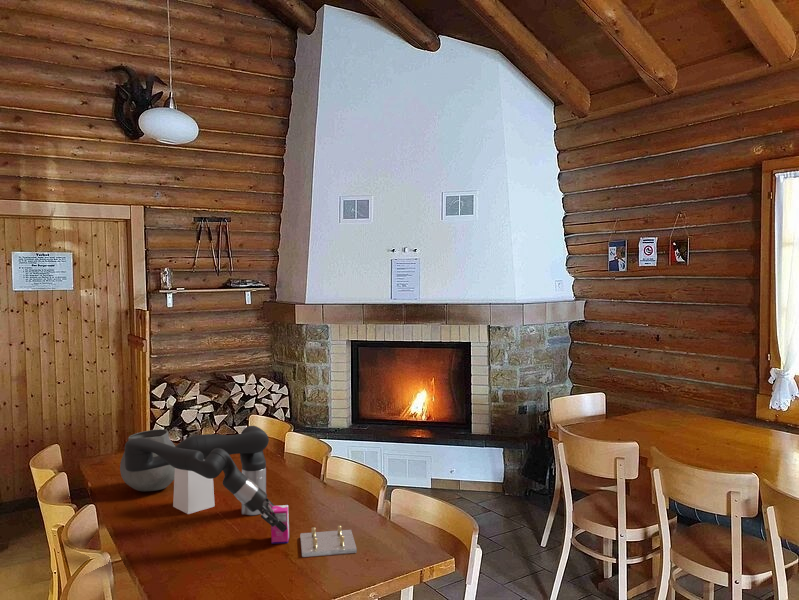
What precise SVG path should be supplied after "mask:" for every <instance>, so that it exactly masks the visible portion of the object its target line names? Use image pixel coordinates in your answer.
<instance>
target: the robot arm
mask: <svg viewBox="0 0 799 600" xmlns="http://www.w3.org/2000/svg"><path fill="white" fill-rule="evenodd" d="M269 441H270V440H269V436H268V434H267V433H266V431H264V430H263V429H261V428H260V427H258V426H256V425H249V426H246V427H245V428H243V430H242V431H241V433H239V434H238V433H237V434H228V435H227V434H216V433H215V434H214V433H213V434H211V433H210V434H209V433H206V434H199V435H191V436H188V437H186V438H184V439H182V440H181V441H180V442H179V443H177V445H175V447H173V446H170V445H167V444H164V443H161V442H157V441H154V440H151V439H146V438H135V439H131V440H127V441H126V442H125V444H124V452H125V468H126V470H127V471H130V472H138V471H145V470H149V469H154V468H158V467H162V466H167V465H171V466H172V467H174V468H177V469H181V470H188V471H193V472H195V473H197V474H199V475H201V476H203V477H205V478H208V479H212V478H213V479H215V478H217V477H219V475H221V473H222V472H223V473H224V477H223V480H222V486H223V487H224V488H225V489H227V490H228V491H229V493H231V495H232V494H233V496H234V497H235V498H236V500H238V501H239V502H240V503H241V515H246V516H257V515H260V517H261V519H262V520H264V521H265V522H266V523H268V524H269V525H270V527H271V526H272V527H274V526H276V527H277V528H278V529H279V530H281V531H282V532H284V531H285V530H286V529H287V526H286V525H285V524H284V523H282V522H281V521H280V520H279V519H278V518H277V516H276V514H275V513H274V512H273V510H272V507H273V506H276V505H275V504H274V503H273V502H272V501H270V499H269V498H268V494H267V460H266V458H265V454H264V450H265V449H266V447H268V444H269ZM153 453H155V454H157V455H158V456H156V457H153ZM231 455H240V456H239V458H240V462H241V471H240V469H239V468H238V466H237V464H236V463H235V461H234V460H233V458H232V457H231ZM271 512H272V513H273V515H271ZM272 519H273V520H274V522H273V521H272Z"/></svg>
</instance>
